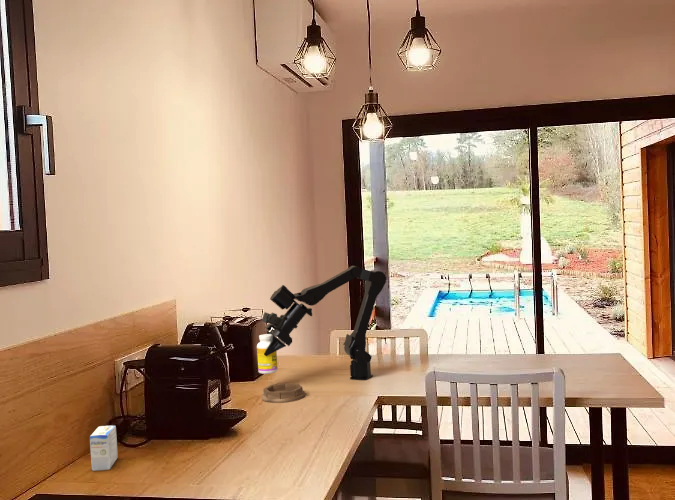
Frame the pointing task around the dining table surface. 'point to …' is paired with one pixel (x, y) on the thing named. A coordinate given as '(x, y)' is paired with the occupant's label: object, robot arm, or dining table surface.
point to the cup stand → (283, 393)
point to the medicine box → (103, 448)
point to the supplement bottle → (266, 362)
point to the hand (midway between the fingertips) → (262, 353)
